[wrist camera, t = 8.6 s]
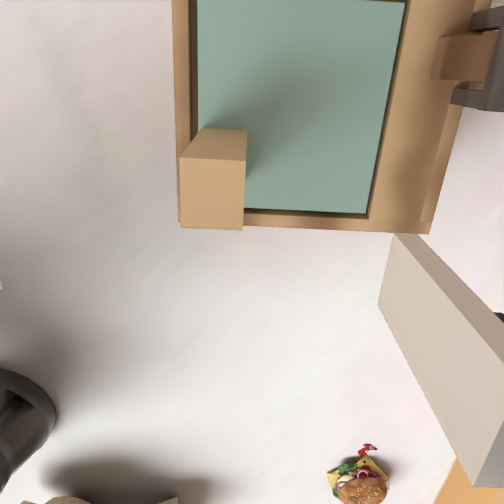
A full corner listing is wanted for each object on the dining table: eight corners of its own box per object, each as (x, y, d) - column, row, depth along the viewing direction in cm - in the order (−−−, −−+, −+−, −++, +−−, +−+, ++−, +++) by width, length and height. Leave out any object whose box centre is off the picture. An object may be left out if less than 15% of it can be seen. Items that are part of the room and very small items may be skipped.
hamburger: (418, 471, 63) (434, 510, 57) (343, 504, 66) (351, 543, 61) (375, 422, 58) (388, 458, 53) (297, 460, 62) (301, 498, 56)
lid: (200, 199, 32) (176, 264, 21) (200, -7, 26) (165, -56, 15) (360, 207, 32) (413, 275, 22) (396, 6, 26) (494, -34, 15)
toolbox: (197, 181, 42) (165, 249, 26) (195, -8, 34) (151, -68, 19) (423, 193, 42) (521, 265, 27) (469, 9, 35) (640, -35, 20)
